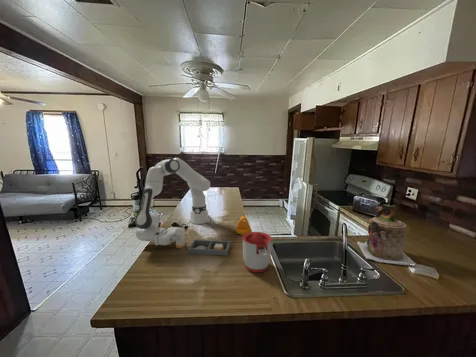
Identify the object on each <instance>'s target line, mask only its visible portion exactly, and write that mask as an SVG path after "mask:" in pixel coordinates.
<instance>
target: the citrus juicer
mask: <svg viewBox="0 0 476 357" xmlns="http://www.w3.org/2000/svg"><path fill="white" fill-rule="evenodd" d="M272 240H273V238H272V236H271V235H270V234H268V233H265V232H262V231H261V232H260V231H252V232H250V233H246V234H245V235H242V258H243V262H244V265H245V267H246V269H247V270H248V271H250V272H251V273H263V272H265V271H266V270H267V269H268V267H269V264H270V260H271V255H272Z"/></svg>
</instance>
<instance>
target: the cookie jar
mask: <svg viewBox="0 0 476 357" xmlns="http://www.w3.org/2000/svg"><path fill="white" fill-rule="evenodd" d="M396 208H397V207H396V205H389V204H382V205H381V206H375V212H376V213H377V214H376V216H374V217H372V218H369V220H368V224H369V225H368V227H367V234H368V236H369V237H368V240H367V241H366V243H365V242H361V241H357V242H356V244H357V245H358V246H359V249H360V250H361V252H362V254H363V256H364V257H365V259H366V260H372V261H374V262H377V263H386V264H393V265H402V266H408V267H409V265H410V264H417V263H416V262H415V261H414V260H412V259H411V257H409V256H408V255H407V254H406V253H405V252H404V251H405V247H406V242H405V237H406V235H405V231H406V229H407V228H408V225H407V224H406V223H405V222H402V221H400V220H397V219H396V218H394V217H393V216H394V215H395V209H396Z"/></svg>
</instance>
